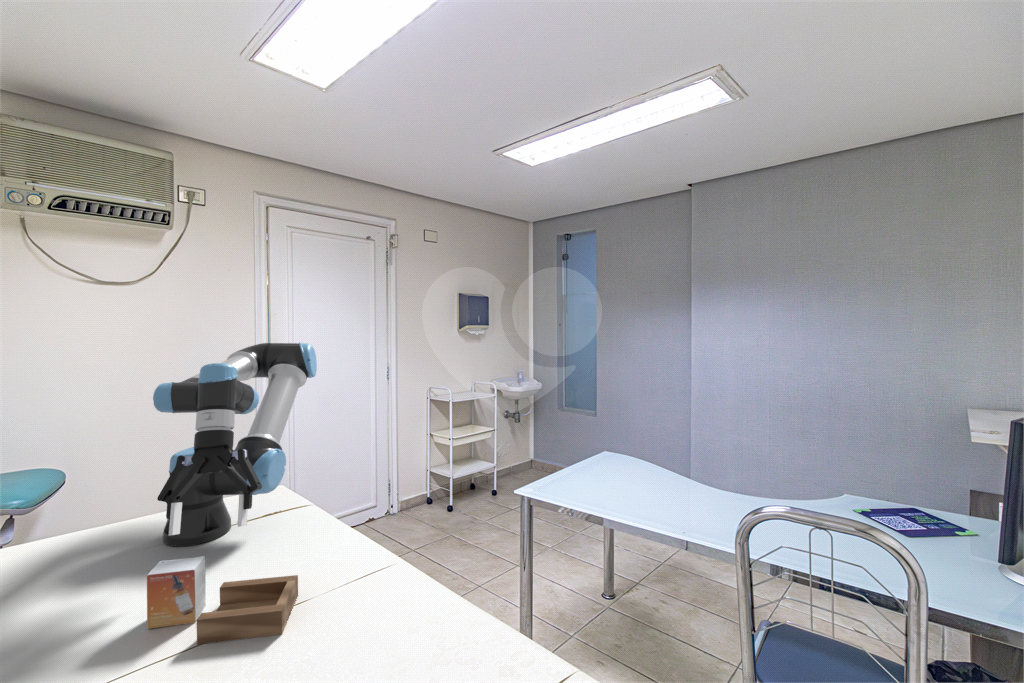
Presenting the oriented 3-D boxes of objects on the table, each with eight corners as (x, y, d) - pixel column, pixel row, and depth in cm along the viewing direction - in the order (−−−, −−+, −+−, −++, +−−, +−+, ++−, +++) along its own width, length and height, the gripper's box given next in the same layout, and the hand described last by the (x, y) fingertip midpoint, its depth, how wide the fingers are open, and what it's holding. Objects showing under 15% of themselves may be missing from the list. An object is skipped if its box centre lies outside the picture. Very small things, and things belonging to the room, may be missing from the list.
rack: (224, 603, 94) (223, 582, 94) (298, 595, 97) (297, 575, 97) (197, 644, 82) (196, 620, 82) (282, 634, 85) (281, 610, 85)
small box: (146, 630, 86) (144, 575, 85) (160, 612, 91) (159, 559, 91) (196, 623, 88) (194, 569, 88) (206, 605, 93) (205, 554, 93)
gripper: (144, 435, 100) (133, 540, 94) (266, 422, 104) (263, 523, 98) (165, 438, 108) (156, 536, 101) (278, 427, 111) (276, 521, 105)
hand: (208, 530), depth 100 cm, fingers open, 13 cm apart
